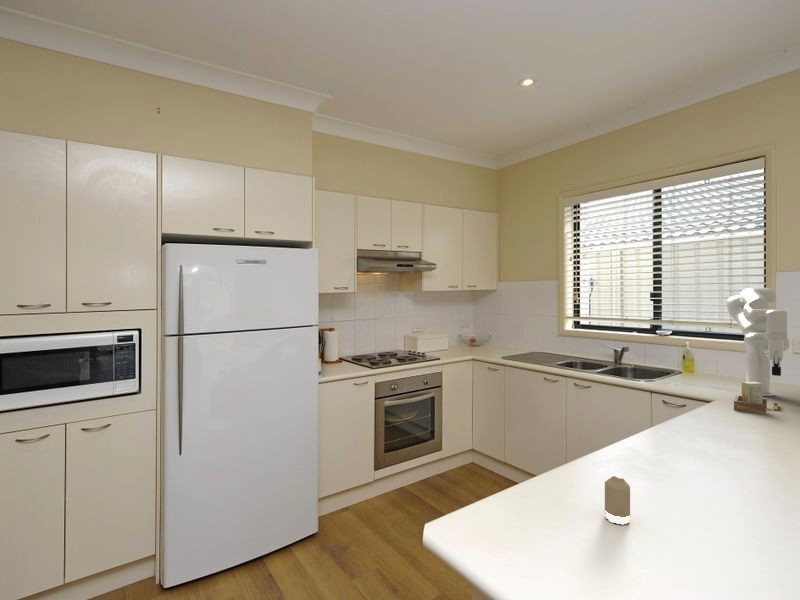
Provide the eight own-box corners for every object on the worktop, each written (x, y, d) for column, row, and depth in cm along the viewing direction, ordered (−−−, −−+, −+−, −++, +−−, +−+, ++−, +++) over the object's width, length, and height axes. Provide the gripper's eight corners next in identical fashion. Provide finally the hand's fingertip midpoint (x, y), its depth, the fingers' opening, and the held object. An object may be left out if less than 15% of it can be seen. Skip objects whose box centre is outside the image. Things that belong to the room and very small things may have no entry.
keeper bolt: (773, 404, 197) (773, 399, 197) (777, 405, 196) (777, 399, 196) (773, 409, 190) (773, 403, 190) (777, 409, 189) (777, 404, 189)
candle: (600, 514, 105) (600, 474, 105) (621, 512, 106) (621, 473, 106) (613, 526, 100) (613, 484, 100) (635, 525, 100) (635, 483, 100)
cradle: (736, 403, 201) (736, 395, 201) (766, 407, 194) (766, 399, 194) (733, 409, 191) (733, 400, 191) (766, 414, 184) (766, 405, 184)
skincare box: (756, 407, 194) (756, 381, 193) (763, 410, 189) (763, 383, 189) (740, 407, 195) (741, 381, 194) (747, 410, 190) (747, 383, 190)
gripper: (766, 334, 207) (766, 372, 207) (765, 337, 196) (765, 376, 196) (787, 335, 202) (786, 374, 202) (787, 338, 191) (787, 378, 191)
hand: (776, 375), depth 199 cm, fingers closed
